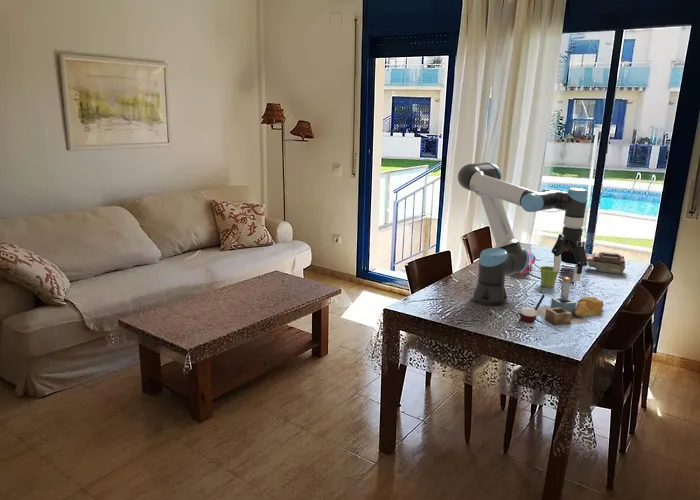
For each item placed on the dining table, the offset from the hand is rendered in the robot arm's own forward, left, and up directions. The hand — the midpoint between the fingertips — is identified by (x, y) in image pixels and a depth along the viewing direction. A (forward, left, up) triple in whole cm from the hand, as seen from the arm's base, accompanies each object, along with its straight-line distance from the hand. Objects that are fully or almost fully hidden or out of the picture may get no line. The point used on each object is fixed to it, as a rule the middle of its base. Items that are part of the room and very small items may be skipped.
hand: (566, 275), depth 223 cm
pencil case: (+19, +59, -17) cm, 64 cm away
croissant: (+11, -2, -17) cm, 20 cm away
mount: (-8, -8, -17) cm, 20 cm away
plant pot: (+16, +34, -17) cm, 41 cm away
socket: (0, 0, -17) cm, 17 cm away
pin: (0, 0, -16) cm, 16 cm away
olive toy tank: (+60, +48, -17) cm, 79 cm away
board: (-4, -3, -17) cm, 18 cm away
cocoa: (-20, -6, -17) cm, 27 cm away
